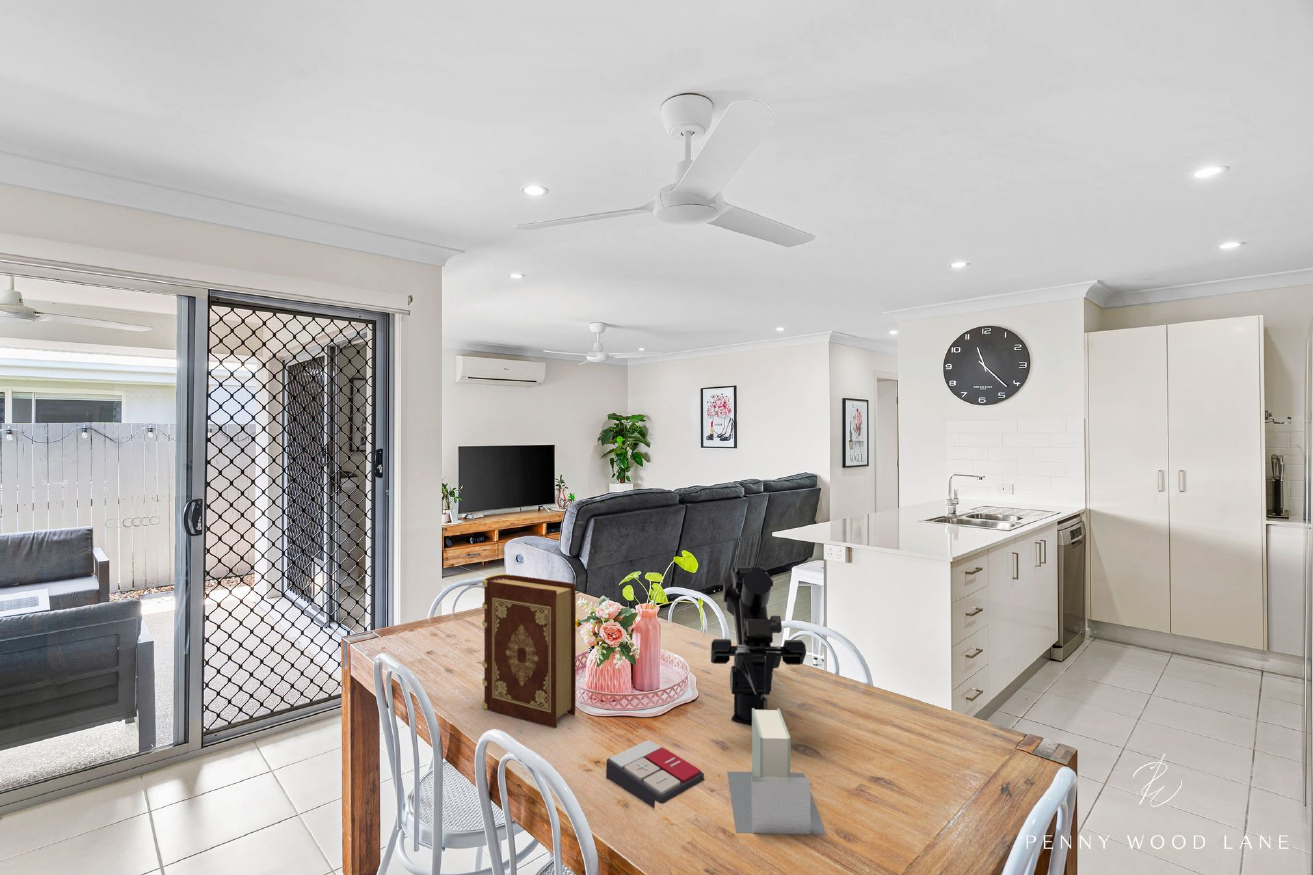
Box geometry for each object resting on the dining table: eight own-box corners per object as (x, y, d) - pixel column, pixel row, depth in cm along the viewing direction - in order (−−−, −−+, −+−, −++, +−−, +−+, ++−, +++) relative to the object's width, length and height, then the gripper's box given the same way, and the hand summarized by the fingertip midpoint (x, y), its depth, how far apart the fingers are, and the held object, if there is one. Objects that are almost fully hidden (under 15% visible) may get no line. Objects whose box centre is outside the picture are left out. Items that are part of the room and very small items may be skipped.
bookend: (751, 826, 98) (751, 776, 98) (808, 827, 97) (808, 777, 97) (752, 832, 96) (752, 781, 96) (810, 834, 96) (810, 782, 96)
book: (752, 773, 113) (752, 708, 113) (779, 773, 113) (779, 708, 113) (760, 809, 102) (760, 737, 102) (790, 810, 102) (790, 737, 102)
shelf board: (727, 779, 114) (727, 771, 114) (803, 780, 113) (803, 772, 113) (736, 841, 96) (736, 832, 96) (826, 843, 96) (826, 834, 96)
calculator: (661, 793, 104) (605, 755, 115) (660, 818, 104) (604, 777, 115) (705, 769, 111) (648, 735, 122) (704, 792, 111) (648, 756, 122)
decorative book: (477, 707, 144) (477, 579, 144) (500, 694, 151) (500, 572, 151) (554, 729, 133) (555, 590, 133) (576, 714, 140) (576, 582, 140)
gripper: (711, 599, 125) (714, 675, 114) (804, 600, 124) (816, 676, 113) (709, 626, 132) (712, 699, 121) (796, 627, 132) (807, 701, 121)
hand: (761, 693), depth 119 cm, fingers closed
